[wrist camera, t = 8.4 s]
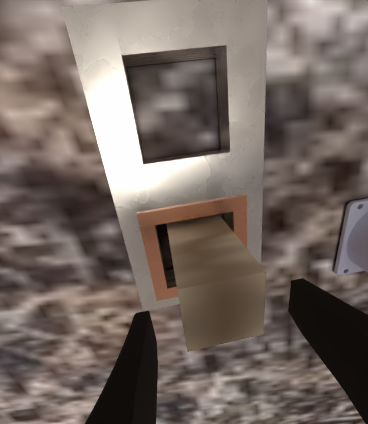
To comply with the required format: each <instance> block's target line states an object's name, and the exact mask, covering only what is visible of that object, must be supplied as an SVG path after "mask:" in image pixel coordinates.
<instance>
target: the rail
mask: <svg viewBox="0 0 368 424" xmlns="http://www.w3.org/2000/svg"><path fill="white" fill-rule="evenodd" d="M61 8H62V12H63V15H64V19H65V23H66V27H67V30H68V34H69V38H70V41H71V45H72V49H73V52H74V56H75V60H76V64H77V67H78V71H79V75H80V78H81V82H82V86H83V90H84V93H85V97H86V101H87V104H88V108H89V112H90V115H91V119H92V123H93V127H94V130H95V134H96V138H97V141H98V145H99V149H100V153H101V156H102V160H103V164H104V167H105V171H106V175H107V178H108V182H109V186H110V190H111V193H112V197H113V201H114V204H115V208H116V212H117V216H118V219H119V223H120V227H121V230H122V234H123V238H124V241H125V245H126V249H127V253H128V256H129V260H130V264H131V267H132V271H133V275H134V279H135V282H136V286H137V290H138V293H139V297H140V301H141V304H142V308H143V312H144V311H149V310H154V309H158V308H163V307H168V306H172V305H177V304H180V303H179V297H178V291H177V285H176V279H175V273H174V269H172V270H167V271H165V266H164V260H163V255H162V250H161V245H160V240H159V235H158V230H157V225H159V224H164V223H170V222H176V221H181V220H187V219H193V218H199V217H204V216H210V215H216V214H221V213H224V221H225V222H226V224H227V225H228V226H229V227H230V228H231V230H232V231H233V232H234V233H235V234H236V236H237V237H238V238H239V239H240V241H241V242H242V243H243V244H244V245H245V247H246V248H247V249H248V250H249V252H250V253H251V254H252V255H253V256H254V258H255V259H256V260H257V261H258V262H259V264H260V265H261V245H262V206H263V166H264V126H265V87H266V47H267V8H268V0H151V1H138V2H124V3H111V4H97V5H84V6H70V7H61ZM208 58H216V77H217V95H218V114H219V133H220V150H214V151H207V152H200V153H193V154H186V155H179V156H172V157H166V158H159V159H152V160H145V161H144V157H143V152H142V147H141V142H140V137H139V132H138V126H137V121H136V116H135V111H134V106H133V101H132V95H131V90H130V85H129V80H128V75H127V70H126V67H130V66H140V65H149V64H159V63H169V62H178V61H188V60H198V59H208Z"/></svg>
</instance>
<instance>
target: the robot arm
mask: <svg viewBox="0 0 368 424" xmlns="http://www.w3.org/2000/svg"><path fill="white" fill-rule="evenodd" d="M360 271H366V272H367V273H368V198H367V199H362V200H356V201H352V202H350V203H349V204H348V205H347V207H346V213H345V218H344V223H343V228H342V233H341V238H340V244H339V249H338V254H337V259H336V264H335V269H334V273H335V274H337V275H338V276H341V275H346V274H351V273H355V272H360ZM288 311H289V313H290V315H291V316H292V318H293V320H294V322H295V323H296V325H297V326H298V328H299V330H300V331H301V333H302V334H303V336H304V337H305V338H306V340H307V341H308V342H309V344H310V345H311V346H312V348H313V349H314V350H315V352H316V353H317V354H318V356H319V357H320V358H321V360H322V361H323V362H324V364H325V365H326V366H327V368H328V369H329V370H330V372H331V373H332V374H333V376H334V377H335V378H336V380H337V381H338V382H339V384H340V385H341V387H342V388H343V390H344V391H345V392H346V394H347V395H348V397H349V398H350V400H351V402H352V403H353V405H354V406H355V408H356V409H357V411H358V412H359V414H360V416H361V417H362V419H363V420H364V422H365V423H366V424H368V315H367V314H365V313H363V312H361V311H360V310H358V309H356V308H354V307H352V306H350V305H349V304H347V303H345V302H343V301H342V300H340V299H338V298H336V297H334V296H333V295H331V294H329V293H328V292H326V291H324V290H322V289H321V288H319V287H317V286H315V285H314V284H312V283H310V282H308V281H306V280H305V279H303V278H302V279H298V280H293V281H291V289H290V299H289V309H288ZM157 375H158V359H157V341H156V336H155V332H154V329H153V325H152V321H151V317H150V313H149V311H144V312H139V313H136V314H135V315H134V318H133V321H132V324H131V327H130V329H129V332H128V335H127V337H126V340H125V342H124V345H123V347H122V350H121V352H120V354H119V357H118V359H117V361H116V364H115V366H114V368H113V370H112V372H111V374H110V376H109V378H108V380H107V383H106V385H105V387H104V389H103V391H102V393H101V395H100V397H99V399H98V401H97V403H96V404H95V406H94V408H93V410H92V412H91V414H90V415H89V417H88V419H87V421H86V423H85V424H156V405H157Z"/></svg>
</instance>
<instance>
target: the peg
mask: <svg viewBox="0 0 368 424" xmlns="http://www.w3.org/2000/svg"><path fill="white" fill-rule="evenodd" d="M166 225H167V231H168V237H169V243H170V249H171V255H172V261H173V267H174V273H175V279H176V285H177V291H178V297H179V303H180V309H181V315H182V322H183V328H184V334H185V340H186V346H187V352H189V351H193V350H197V349H202V348H206V347H210V346H215V345H219V344H223V343H228V342H232V341H236V340H241V339H245V338H249V337H254V336H258V335H262V334H263V330H264V309H265V287H266V271H265V270H264V269H263V267H262V266H261V265H260V264H259V262H258V261H257V260H256V259H255V258H254V256H253V255H252V254H251V253H250V252H249V250H248V249H247V248H246V247H245V245H244V244H243V243H242V242H241V241H240V239H239V238H238V237H237V236H236V234H235V233H234V232H233V231H232V230H231V228H230V227H229V226H228V225H227V224H226V222H225V221H224V220H223V219H222V217H221V216H220V215H219V214H216V215H210V216H204V217H199V218H193V219H187V220H181V221H176V222H170V223H166Z"/></svg>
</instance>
